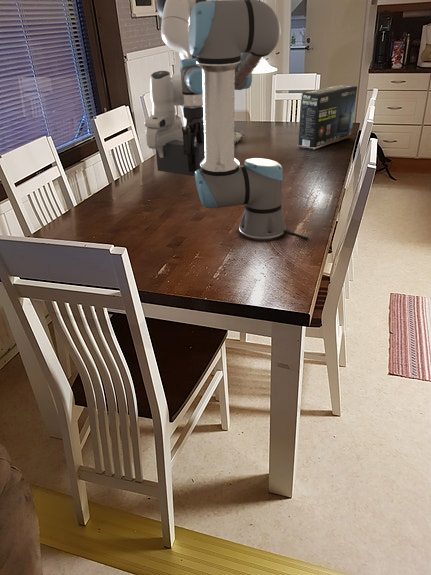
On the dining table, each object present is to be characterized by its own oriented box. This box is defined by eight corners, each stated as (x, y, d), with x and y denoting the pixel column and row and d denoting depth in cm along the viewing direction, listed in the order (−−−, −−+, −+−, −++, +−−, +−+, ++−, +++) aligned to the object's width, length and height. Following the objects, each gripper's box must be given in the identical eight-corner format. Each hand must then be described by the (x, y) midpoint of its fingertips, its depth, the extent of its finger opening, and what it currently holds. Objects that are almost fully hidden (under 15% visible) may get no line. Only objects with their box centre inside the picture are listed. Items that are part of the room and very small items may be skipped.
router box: (314, 151, 231) (318, 94, 217) (296, 148, 237) (299, 92, 224) (352, 138, 251) (358, 85, 238) (335, 135, 258) (340, 83, 245)
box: (208, 172, 180) (207, 143, 174) (200, 177, 175) (199, 147, 170) (166, 166, 189) (163, 138, 183) (157, 170, 185) (154, 142, 179)
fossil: (235, 139, 243) (216, 121, 246) (225, 155, 249) (206, 138, 252) (251, 137, 256) (233, 120, 260) (241, 153, 263) (223, 137, 266)
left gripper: (173, 112, 184) (176, 147, 191) (141, 123, 169) (145, 160, 176) (186, 113, 181) (188, 149, 188) (155, 124, 166) (159, 162, 173)
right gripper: (198, 101, 175) (201, 161, 187) (169, 110, 161) (175, 174, 173) (215, 102, 172) (217, 163, 183) (187, 111, 158) (191, 177, 170)
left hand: (167, 154), depth 182 cm, fingers closed on box, 6 cm apart
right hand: (196, 169), depth 178 cm, fingers closed on box, 6 cm apart
